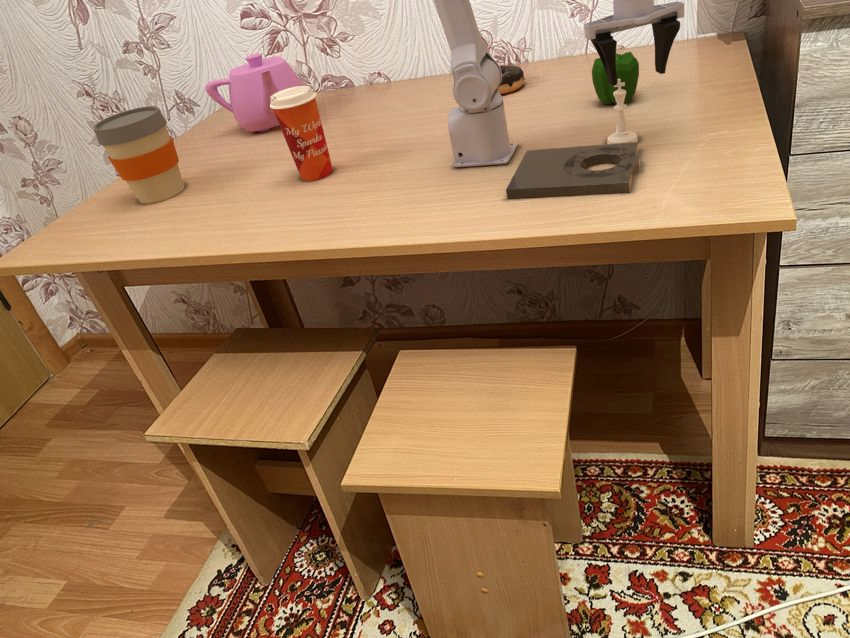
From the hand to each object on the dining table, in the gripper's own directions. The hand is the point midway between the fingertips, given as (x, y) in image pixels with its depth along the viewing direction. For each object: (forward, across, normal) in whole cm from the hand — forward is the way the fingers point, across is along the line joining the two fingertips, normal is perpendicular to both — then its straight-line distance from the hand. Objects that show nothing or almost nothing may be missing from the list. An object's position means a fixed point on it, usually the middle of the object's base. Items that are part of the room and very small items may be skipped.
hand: (636, 78), depth 106 cm
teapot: (+10, -63, +64) cm, 90 cm away
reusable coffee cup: (+10, -85, +33) cm, 92 cm away
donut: (+10, -13, +47) cm, 50 cm away
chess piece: (+10, -2, +2) cm, 11 cm away
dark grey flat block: (+10, -13, -6) cm, 17 cm away
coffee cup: (+10, -53, +22) cm, 59 cm away
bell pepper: (+10, +4, +22) cm, 25 cm away
